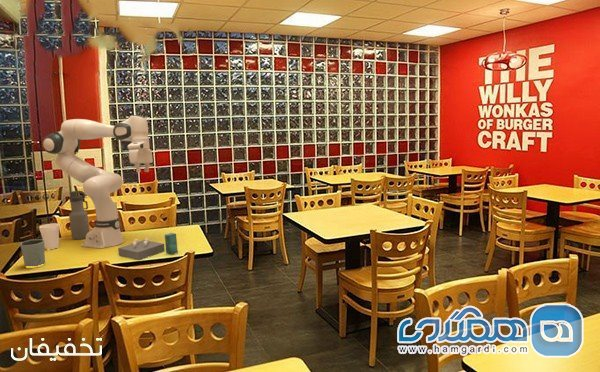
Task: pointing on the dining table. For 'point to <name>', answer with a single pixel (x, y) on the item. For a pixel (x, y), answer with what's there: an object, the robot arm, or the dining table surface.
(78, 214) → the water bottle
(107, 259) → the dining table surface
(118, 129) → the robot arm
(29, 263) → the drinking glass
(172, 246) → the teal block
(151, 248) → the peg stand
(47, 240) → the foam cup
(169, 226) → the dining table surface
